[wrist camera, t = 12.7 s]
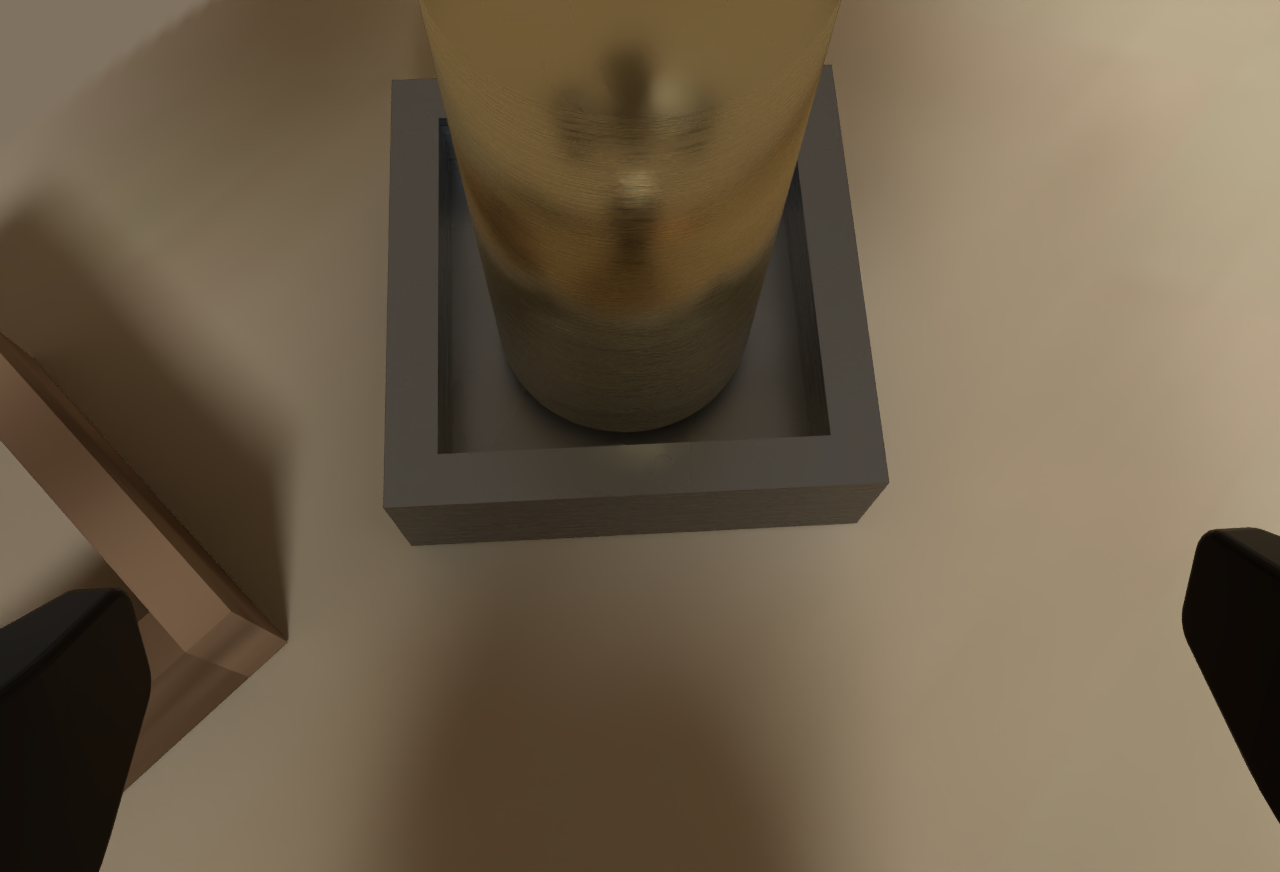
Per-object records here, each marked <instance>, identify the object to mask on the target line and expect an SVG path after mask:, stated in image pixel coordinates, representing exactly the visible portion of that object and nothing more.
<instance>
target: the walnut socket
mask: <svg viewBox="0 0 1280 872" xmlns="http://www.w3.org/2000/svg"><path fill="white" fill-rule="evenodd" d="M0 440H1V441H2V443H3V444H4V445H5V446H6V447H7V448H8V449H9V451H10V452H11V453H12V454H13V455H14V456H15V457H16V459H17V460H18V461H19V462H20V463H21V464H22V466H23V467H24V468H25V469H26V470H27V471H28V472H29V474H30V475H31V476H32V477H33V478H34V479H35V480H36V482H37V483H38V484H39V485H40V486H41V487H42V488H43V490H44V491H45V492H46V493H47V494H48V495H49V497H50V498H51V499H52V500H53V501H54V502H55V503H56V505H57V506H58V507H59V508H60V509H61V510H62V511H63V513H64V514H65V515H66V516H67V517H68V518H69V519H70V521H71V522H72V523H73V524H74V525H75V526H76V528H77V529H78V530H79V531H80V532H81V533H82V534H83V536H84V537H85V538H86V539H87V540H88V541H89V542H90V544H91V545H92V546H93V547H94V548H95V549H96V550H97V552H98V553H99V554H100V555H101V556H102V557H103V559H104V560H105V561H106V562H107V563H108V564H109V565H110V567H111V568H112V569H113V570H114V571H115V572H116V573H117V575H118V576H119V577H120V578H121V579H122V580H123V581H124V583H125V584H126V585H127V586H128V587H129V588H130V590H131V591H132V592H133V593H134V594H135V595H136V596H137V598H138V599H139V600H140V601H141V602H142V603H143V604H144V606H145V607H146V608H147V609H148V610H149V611H150V612H149V613H148V614H146V615H145V616H144V617H143V618H142V619H141V620H140V621H138V626H139V629H140V633H141V637H142V640H143V644H144V648H145V651H146V655H147V659H148V662H149V666H150V671H151V693H150V698H149V703H148V706H147V710H146V713H145V717H144V720H143V724H142V727H141V731H140V734H139V738H138V741H137V745H136V748H135V752H134V756H133V759H132V763H131V766H130V770H129V773H128V777H127V780H126V784H125V787H124V791H125V790H126V789H127V788H128V787H129V786H130V785H131V784H132V783H134V782H135V781H136V780H137V779H138V778H139V777H140V776H141V775H142V774H143V773H145V772H146V771H147V770H148V769H149V768H150V767H151V766H152V765H153V764H154V763H156V762H157V761H158V760H159V759H160V758H161V757H162V756H163V755H164V754H165V753H166V752H168V751H169V750H170V749H171V748H172V747H173V746H174V745H175V744H176V743H177V742H179V741H180V740H181V739H182V738H183V737H184V736H185V735H186V734H187V733H188V732H190V731H191V730H192V729H193V728H194V727H195V726H196V725H197V724H198V723H199V722H201V721H202V720H203V719H204V718H205V717H206V716H207V715H208V714H209V713H210V712H212V711H213V710H214V709H215V708H216V707H217V706H218V705H219V704H220V703H221V702H223V701H224V700H225V699H226V698H227V697H228V696H229V695H230V694H231V693H232V692H234V691H235V690H236V689H237V688H238V687H239V686H240V685H241V684H242V683H243V682H244V681H246V680H247V679H248V678H249V677H250V676H251V675H252V674H253V673H254V672H255V671H257V670H258V669H259V668H260V667H261V666H262V665H263V664H264V663H265V662H266V661H268V660H269V659H270V658H271V657H272V656H273V655H274V654H275V653H276V652H277V651H279V650H280V649H281V648H282V647H283V646H284V645H285V644H286V643H287V640H286V639H285V638H284V637H283V636H282V635H281V634H280V633H279V632H278V631H277V629H276V628H275V627H274V626H273V625H272V624H271V623H270V622H269V621H268V619H267V618H266V617H265V616H264V615H263V614H262V613H261V612H260V611H259V609H258V608H257V607H256V606H255V605H254V604H253V603H252V602H251V601H250V599H249V598H248V597H247V596H246V595H245V594H244V593H243V592H242V591H241V589H240V588H239V587H238V586H237V585H236V584H235V583H234V582H233V581H232V580H231V578H230V577H229V576H228V575H227V574H226V573H225V572H224V571H223V570H222V568H221V567H220V566H219V565H218V564H217V563H216V562H215V561H214V560H213V558H212V557H211V556H210V555H209V554H208V553H207V552H206V551H205V550H204V548H203V547H202V546H201V545H200V544H199V543H198V542H197V541H196V540H195V539H194V537H193V536H192V535H191V534H190V533H189V532H188V531H187V530H186V529H185V527H184V526H183V525H182V524H181V523H180V522H179V521H178V520H177V519H176V517H175V516H174V515H173V514H172V513H171V512H170V511H169V510H168V509H167V507H166V506H165V505H164V504H163V503H162V502H161V501H160V500H159V499H158V497H157V496H156V495H155V494H154V493H153V492H152V491H151V490H150V489H149V488H148V486H147V485H146V484H145V483H144V482H143V481H142V480H141V479H140V478H139V476H138V475H137V474H136V473H135V472H134V471H133V470H132V469H131V468H130V466H129V465H128V464H127V463H126V462H125V461H124V460H123V459H122V458H121V456H120V455H119V454H118V453H117V452H116V451H115V450H114V449H113V448H112V447H111V445H110V444H109V443H108V442H107V441H106V440H105V439H104V438H103V437H102V435H101V434H100V433H99V432H98V431H97V430H96V429H95V428H94V427H93V425H92V424H91V423H90V422H89V421H88V420H87V419H86V418H85V417H84V415H83V414H82V413H81V412H80V411H79V410H78V409H77V408H76V407H75V405H74V404H73V403H72V402H71V401H70V400H69V399H68V398H67V397H66V396H65V394H64V393H63V392H62V391H61V390H60V389H59V388H58V387H57V386H56V384H55V383H54V382H53V381H52V380H51V379H50V378H49V377H48V376H47V374H46V373H45V372H44V371H43V370H42V369H41V368H40V367H39V366H38V364H37V363H36V362H35V361H34V360H33V359H32V358H31V357H30V356H29V355H28V354H27V353H26V352H24V351H23V350H22V349H21V348H19V347H18V346H17V345H16V344H14V343H13V342H12V341H10V340H9V339H8V338H7V337H5V336H4V335H3V334H2V333H0ZM124 791H123V792H124Z"/></svg>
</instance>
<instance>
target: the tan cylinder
mask: <svg viewBox="0 0 1280 872" xmlns="http://www.w3.org/2000/svg"><path fill="white" fill-rule="evenodd" d="M418 1H419V6H420V10H421V14H422V18H423V22H424V26H425V30H426V34H427V39H428V43H429V47H430V51H431V55H432V59H433V63H434V67H435V72H436V76H437V80H438V84H439V88H440V92H441V96H442V101H443V105H444V109H445V113H446V117H447V121H448V125H449V129H450V134H451V138H452V142H453V146H454V150H455V154H456V158H457V162H458V167H459V171H460V175H461V179H462V183H463V187H464V191H465V195H466V200H467V204H468V208H469V212H470V216H471V220H472V224H473V229H474V233H475V237H476V241H477V245H478V249H479V253H480V257H481V262H482V266H483V270H484V274H485V278H486V282H487V286H488V290H489V295H490V299H491V303H492V307H493V311H494V315H495V319H496V323H497V328H498V332H499V336H500V340H501V344H502V347H503V350H504V353H505V356H506V358H507V360H508V363H509V365H510V367H511V369H512V371H513V372H514V374H515V375H516V377H517V378H518V380H519V381H520V383H521V384H522V385H523V386H524V387H525V389H526V390H527V391H528V392H529V393H530V394H531V395H532V396H533V397H534V398H535V399H536V400H537V401H539V402H540V403H541V404H542V405H543V406H545V407H546V408H548V409H549V410H551V411H552V412H554V413H555V414H557V415H559V416H561V417H563V418H565V419H567V420H569V421H571V422H573V423H576V424H579V425H582V426H585V427H588V428H592V429H597V430H602V431H610V432H640V431H646V430H652V429H657V428H660V427H664V426H667V425H670V424H673V423H675V422H678V421H680V420H682V419H684V418H687V417H688V416H690V415H692V414H693V413H695V412H697V411H698V410H700V409H702V408H703V407H704V406H705V405H706V404H708V403H709V402H710V401H711V400H713V399H714V398H715V397H716V396H717V395H718V394H719V393H720V392H721V390H722V389H723V388H724V387H725V386H726V385H727V383H728V382H729V380H730V379H731V378H732V376H733V375H734V373H735V371H736V369H737V367H738V365H739V364H740V362H741V359H742V356H743V354H744V351H745V348H746V345H747V341H748V337H749V334H750V330H751V326H752V323H753V319H754V315H755V312H756V308H757V305H758V301H759V297H760V294H761V290H762V286H763V283H764V279H765V275H766V272H767V268H768V264H769V261H770V257H771V253H772V250H773V246H774V243H775V239H776V235H777V232H778V228H779V224H780V221H781V217H782V213H783V210H784V206H785V202H786V199H787V195H788V191H789V188H790V184H791V180H792V177H793V173H794V170H795V166H796V162H797V159H798V155H799V151H800V148H801V144H802V140H803V137H804V133H805V129H806V126H807V122H808V118H809V115H810V111H811V108H812V104H813V100H814V97H815V93H816V89H817V86H818V82H819V78H820V75H821V71H822V67H823V64H824V60H825V56H826V53H827V49H828V45H829V42H830V38H831V35H832V31H833V27H834V24H835V20H836V16H837V13H838V9H839V5H840V2H841V0H418Z"/></svg>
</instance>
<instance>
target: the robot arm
mask: <svg viewBox="0 0 1280 872" xmlns="http://www.w3.org/2000/svg"><path fill="white" fill-rule="evenodd" d="M1182 626H1183V631H1184V635H1185V638H1186V640H1187V643H1188V645H1189V647H1190V649H1191V651H1192V653H1193V655H1194V657H1195V659H1196V662H1197V664H1198V666H1199V668H1200V670H1201V672H1202V674H1203V676H1204V678H1205V680H1206V682H1207V684H1208V686H1209V688H1210V690H1211V693H1212V695H1213V697H1214V699H1215V701H1216V703H1217V705H1218V707H1219V709H1220V711H1221V713H1222V715H1223V717H1224V719H1225V722H1226V724H1227V726H1228V728H1229V730H1230V732H1231V734H1232V736H1233V738H1234V740H1235V742H1236V744H1237V746H1238V748H1239V750H1240V753H1241V755H1242V757H1243V759H1244V761H1245V763H1246V765H1247V767H1248V769H1249V771H1250V772H1251V774H1252V776H1253V778H1254V780H1255V782H1256V784H1257V786H1258V788H1259V790H1260V791H1261V793H1262V795H1263V797H1264V798H1265V800H1266V802H1267V803H1268V805H1269V807H1270V808H1271V810H1272V812H1273V814H1274V815H1275V817H1276V819H1277V820H1278V822H1279V823H1280V536H1278V535H1275V534H1273V533H1270V532H1267V531H1265V530H1262V529H1258V528H1251V527H1246V528H1228V529H1214V530H1210V531H1208V532H1207V533H1205V534H1204V535H1203V536H1202V537H1201V539H1200V540H1199V542H1198V545H1197V548H1196V551H1195V556H1194V560H1193V564H1192V569H1191V573H1190V578H1189V582H1188V586H1187V591H1186V595H1185V600H1184V604H1183V609H1182ZM150 693H151V671H150V666H149V662H148V659H147V655H146V651H145V648H144V644H143V640H142V637H141V633H140V629H139V626H138V622H137V618H136V615H135V611H134V608H133V605H132V602H131V600H130V598H129V596H128V595H127V593H125V592H124V591H122V590H121V589H119V588H97V589H77V590H72V591H69V592H66V593H64V594H63V595H61V596H59V597H57V598H55V599H54V600H52V601H50V602H48V603H46V604H44V605H43V606H41V607H39V608H37V609H35V610H34V611H32V612H30V613H28V614H26V615H25V616H23V617H21V618H19V619H17V620H16V621H14V622H12V623H10V624H8V625H7V626H5V627H3V628H1V629H0V872H99V870H100V867H101V864H102V862H103V859H104V855H105V852H106V849H107V846H108V843H109V840H110V837H111V833H112V830H113V826H114V823H115V819H116V816H117V812H118V808H119V805H120V801H121V798H122V794H123V791H124V787H125V784H126V780H127V777H128V773H129V770H130V766H131V763H132V759H133V756H134V752H135V748H136V745H137V741H138V738H139V734H140V731H141V727H142V724H143V720H144V717H145V713H146V710H147V706H148V703H149V698H150Z"/></svg>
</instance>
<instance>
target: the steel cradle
mask: <svg viewBox="0 0 1280 872" xmlns="http://www.w3.org/2000/svg"><path fill="white" fill-rule="evenodd" d="M888 484H889V477H888V470H887V463H886V455H885V448H884V441H883V434H882V426H881V419H880V412H879V405H878V397H877V390H876V383H875V376H874V368H873V361H872V354H871V347H870V339H869V332H868V325H867V318H866V310H865V303H864V296H863V289H862V281H861V274H860V267H859V260H858V252H857V245H856V238H855V231H854V223H853V216H852V209H851V202H850V194H849V187H848V180H847V173H846V165H845V158H844V151H843V144H842V136H841V129H840V122H839V115H838V107H837V100H836V93H835V86H834V78H833V71H832V65H823V67H822V71H821V75H820V78H819V82H818V86H817V89H816V93H815V97H814V100H813V104H812V108H811V111H810V115H809V118H808V122H807V126H806V129H805V133H804V137H803V140H802V144H801V148H800V151H799V155H798V159H797V162H796V166H795V170H794V173H793V177H792V180H791V184H790V188H789V191H788V195H787V199H786V202H785V206H784V210H783V213H782V217H781V221H780V224H779V228H778V232H777V235H776V239H775V243H774V246H773V250H772V253H771V257H770V261H769V264H768V268H767V272H766V275H765V279H764V283H763V286H762V290H761V294H760V297H759V301H758V305H757V308H756V312H755V315H754V319H753V323H752V326H751V330H750V334H749V337H748V341H747V345H746V348H745V351H744V354H743V356H742V359H741V362H740V364H739V365H738V367H737V369H736V371H735V373H734V375H733V376H732V378H731V379H730V380H729V382H728V383H727V385H726V386H725V387H724V388H723V389H722V390H721V392H720V393H719V394H718V395H717V396H716V397H715V398H714V399H713V400H711V401H710V402H709V403H708V404H706V405H705V406H704V407H703V408H702V409H700V410H698V411H697V412H695V413H693V414H692V415H690V416H688V417H687V418H684V419H682V420H680V421H678V422H675V423H673V424H670V425H667V426H664V427H660V428H657V429H652V430H646V431H640V432H610V431H602V430H597V429H592V428H588V427H585V426H582V425H579V424H576V423H573V422H571V421H569V420H567V419H565V418H563V417H561V416H559V415H557V414H555V413H554V412H552V411H551V410H549V409H548V408H546V407H545V406H543V405H542V404H541V403H540V402H539V401H537V400H536V399H535V398H534V397H533V396H532V395H531V394H530V393H529V392H528V391H527V390H526V389H525V387H524V386H523V385H522V384H521V383H520V381H519V380H518V378H517V377H516V375H515V374H514V372H513V371H512V369H511V367H510V365H509V363H508V360H507V358H506V356H505V353H504V350H503V347H502V344H501V340H500V336H499V332H498V328H497V323H496V319H495V315H494V311H493V307H492V303H491V299H490V295H489V290H488V286H487V282H486V278H485V274H484V270H483V266H482V262H481V257H480V253H479V249H478V245H477V241H476V237H475V233H474V229H473V224H472V220H471V216H470V212H469V208H468V204H467V200H466V195H465V191H464V187H463V183H462V179H461V175H460V171H459V167H458V162H457V158H456V154H455V150H454V146H453V142H452V138H451V134H450V129H449V125H448V121H447V117H446V113H445V109H444V105H443V101H442V96H441V92H440V88H439V84H438V80H437V79H408V80H392V100H391V150H390V200H389V249H388V299H387V349H386V398H385V448H384V498H383V508H384V509H385V511H386V512H387V513H388V515H389V516H390V517H391V519H392V520H393V521H394V523H395V524H396V525H397V527H398V528H399V529H400V531H401V532H402V533H403V535H404V536H405V537H406V539H407V540H408V541H409V543H410V544H411V545H412V546H417V545H436V544H456V543H475V542H495V541H515V540H534V539H554V538H574V537H593V536H613V535H632V534H652V533H672V532H691V531H711V530H731V529H750V528H770V527H789V526H809V525H829V524H848V523H857V522H858V521H859V519H860V518H861V517H862V516H863V514H864V513H865V512H866V511H867V509H868V508H869V507H870V506H871V505H872V503H873V502H874V501H875V500H876V498H877V497H878V496H879V495H880V493H881V492H882V491H883V490H884V489H885V487H886V486H887V485H888Z"/></svg>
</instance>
